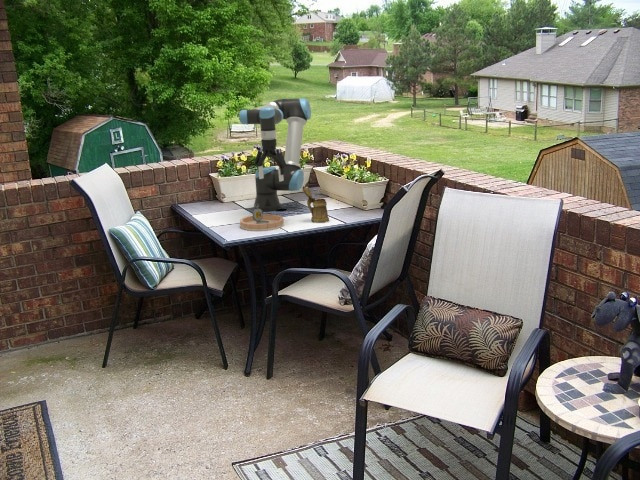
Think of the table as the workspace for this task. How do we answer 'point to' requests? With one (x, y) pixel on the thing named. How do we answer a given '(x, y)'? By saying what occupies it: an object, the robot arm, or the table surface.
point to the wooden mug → (317, 208)
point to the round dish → (251, 225)
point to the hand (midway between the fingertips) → (271, 179)
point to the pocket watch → (258, 214)
